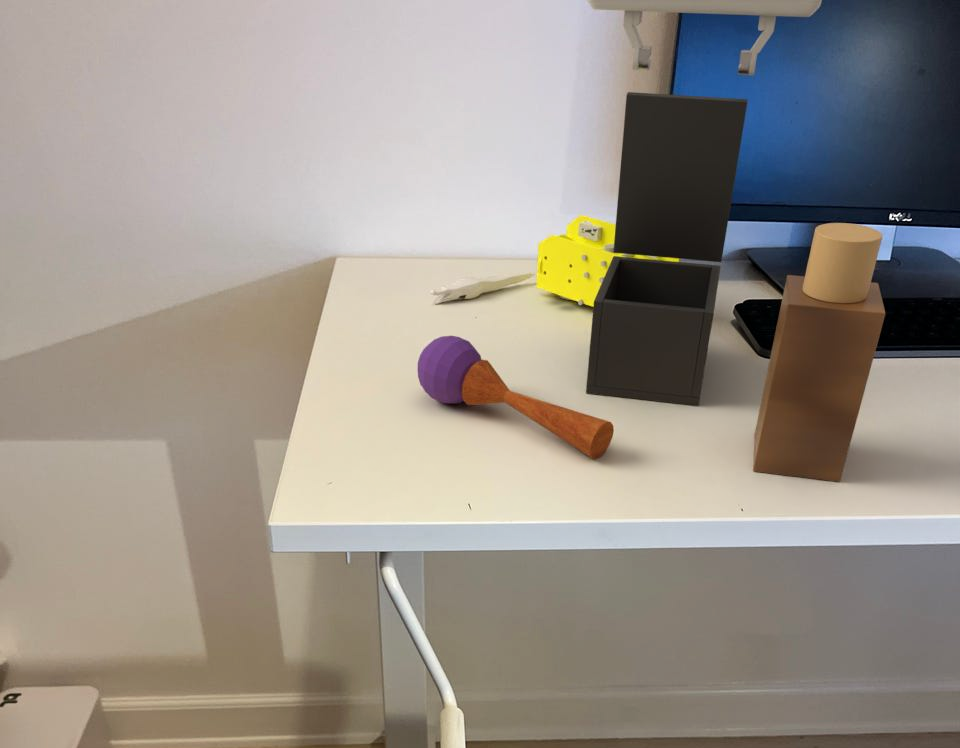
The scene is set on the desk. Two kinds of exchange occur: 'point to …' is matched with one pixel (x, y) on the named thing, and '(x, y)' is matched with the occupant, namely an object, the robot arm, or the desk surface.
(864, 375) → the stand
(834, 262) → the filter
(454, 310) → the desk surface
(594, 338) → the dark open-top box
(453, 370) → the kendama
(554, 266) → the yellow toy chassis
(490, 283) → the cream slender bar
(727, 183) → the dark box lid
